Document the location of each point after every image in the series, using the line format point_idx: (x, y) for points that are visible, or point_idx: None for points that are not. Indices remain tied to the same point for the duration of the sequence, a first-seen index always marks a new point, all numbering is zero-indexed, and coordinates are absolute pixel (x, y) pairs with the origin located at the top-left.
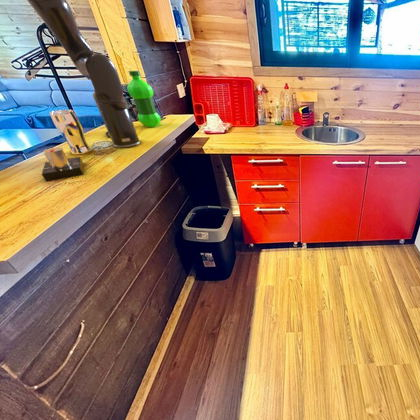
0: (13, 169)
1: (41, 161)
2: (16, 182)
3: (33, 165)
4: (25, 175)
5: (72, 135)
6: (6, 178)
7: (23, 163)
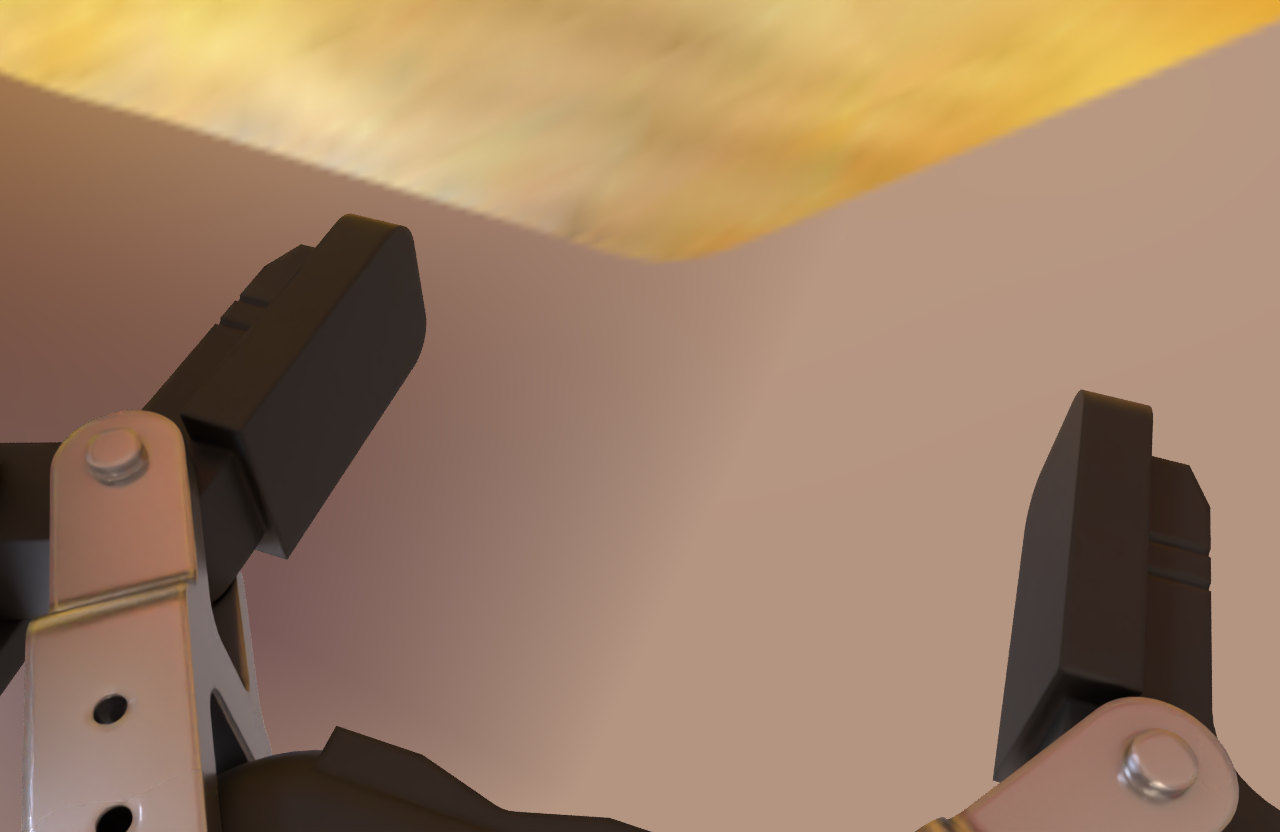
0: (652, 221)
1: (463, 55)
2: (1064, 22)
3: (577, 82)
4: (876, 26)
5: None
6: (901, 170)
7: (493, 207)
